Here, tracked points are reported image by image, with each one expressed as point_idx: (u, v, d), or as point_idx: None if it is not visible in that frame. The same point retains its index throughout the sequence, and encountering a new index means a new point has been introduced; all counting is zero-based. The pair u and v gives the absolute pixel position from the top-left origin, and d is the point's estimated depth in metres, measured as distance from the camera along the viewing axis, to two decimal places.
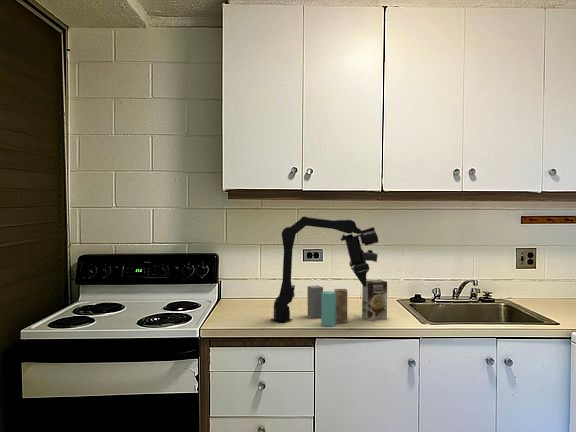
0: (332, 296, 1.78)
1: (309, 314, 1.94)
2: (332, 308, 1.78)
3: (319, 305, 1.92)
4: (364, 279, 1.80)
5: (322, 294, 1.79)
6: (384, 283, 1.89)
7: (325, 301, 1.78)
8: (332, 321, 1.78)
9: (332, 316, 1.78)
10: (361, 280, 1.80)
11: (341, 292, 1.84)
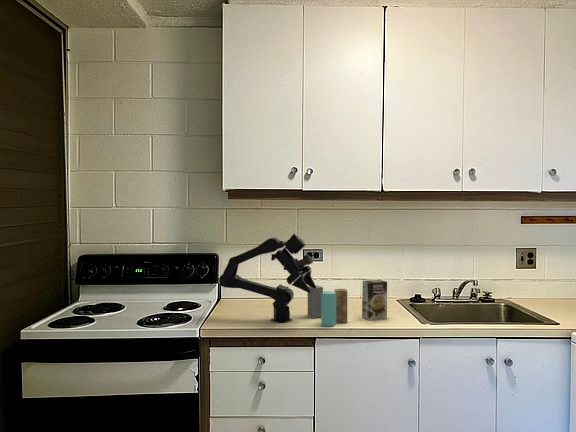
0: (332, 296, 1.78)
1: (309, 314, 1.94)
2: (332, 308, 1.78)
3: (319, 305, 1.92)
4: (304, 286, 1.78)
5: (322, 294, 1.79)
6: (384, 283, 1.89)
7: (325, 301, 1.78)
8: (332, 321, 1.78)
9: (332, 316, 1.78)
10: (302, 288, 1.78)
11: (341, 292, 1.84)
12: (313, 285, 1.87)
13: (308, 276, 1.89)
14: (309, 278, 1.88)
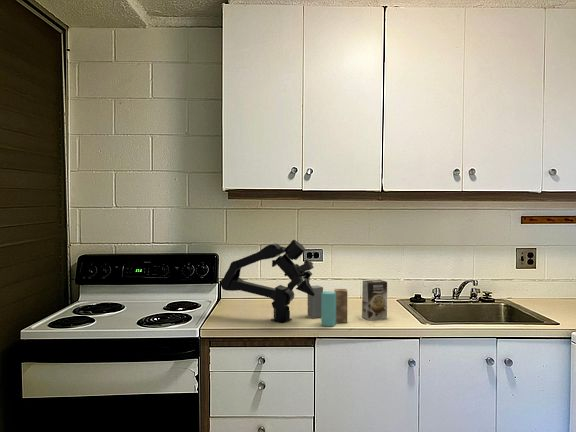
0: (332, 296, 1.78)
1: (309, 314, 1.94)
2: (332, 308, 1.78)
3: (319, 305, 1.92)
4: (308, 289, 1.82)
5: (322, 294, 1.79)
6: (384, 283, 1.89)
7: (325, 301, 1.78)
8: (332, 321, 1.78)
9: (332, 316, 1.78)
10: (306, 291, 1.82)
11: (341, 292, 1.84)
12: None
13: None
14: None
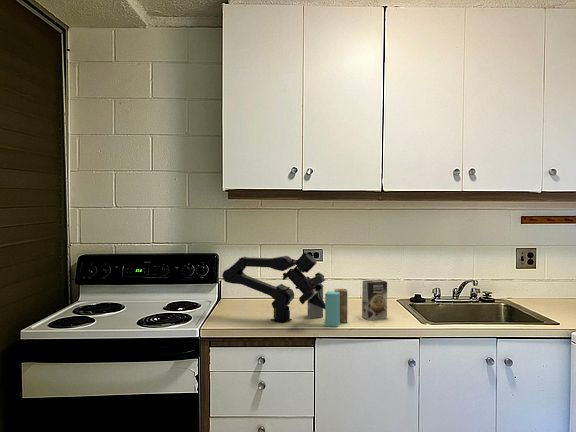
0: (336, 296, 1.77)
1: (309, 314, 1.94)
2: (336, 308, 1.77)
3: None
4: (320, 302, 1.80)
5: (326, 294, 1.78)
6: (384, 283, 1.89)
7: (329, 301, 1.78)
8: (336, 322, 1.77)
9: (336, 316, 1.77)
10: (318, 304, 1.81)
11: (341, 292, 1.84)
12: None
13: None
14: None
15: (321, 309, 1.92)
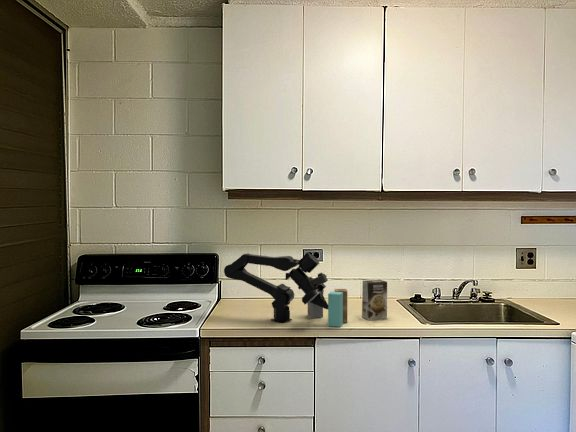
0: (339, 296, 1.77)
1: (309, 314, 1.94)
2: (339, 308, 1.77)
3: None
4: (322, 303, 1.80)
5: (329, 294, 1.78)
6: (384, 283, 1.89)
7: (332, 301, 1.78)
8: (339, 322, 1.77)
9: (339, 317, 1.77)
10: (320, 305, 1.80)
11: None
12: None
13: None
14: None
15: (321, 309, 1.92)
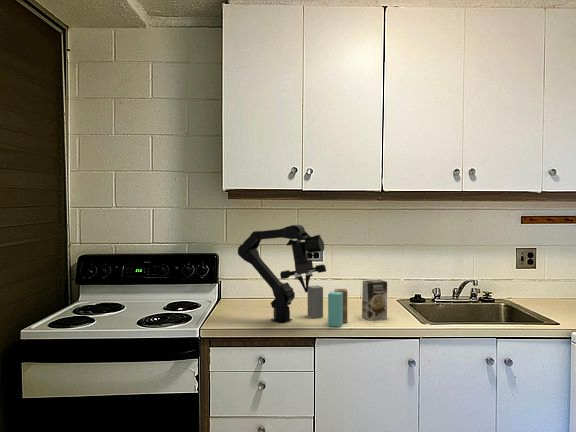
0: (339, 296, 1.77)
1: (309, 314, 1.94)
2: (339, 308, 1.77)
3: (319, 305, 1.92)
4: (302, 285, 1.82)
5: (329, 294, 1.78)
6: (384, 283, 1.89)
7: (332, 301, 1.78)
8: (339, 322, 1.77)
9: (339, 317, 1.77)
10: None
11: None
12: None
13: None
14: None
15: (321, 309, 1.92)
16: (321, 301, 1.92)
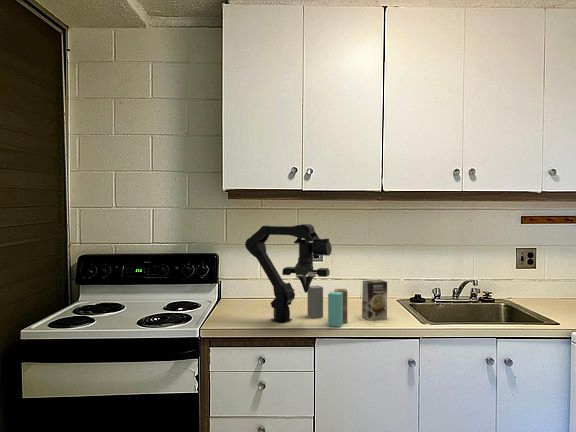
0: (339, 296, 1.77)
1: (309, 314, 1.94)
2: (339, 308, 1.77)
3: (319, 305, 1.92)
4: None
5: (329, 294, 1.78)
6: (384, 283, 1.89)
7: (332, 301, 1.78)
8: (339, 322, 1.77)
9: (339, 317, 1.77)
10: None
11: None
12: None
13: None
14: None
15: (321, 309, 1.92)
16: (321, 301, 1.92)
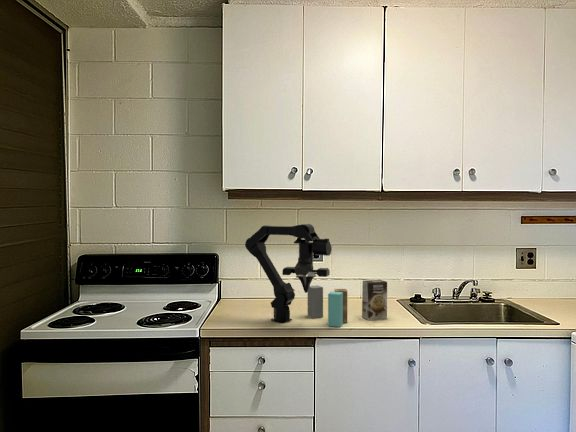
0: (339, 296, 1.77)
1: (309, 314, 1.94)
2: (339, 308, 1.77)
3: (319, 305, 1.92)
4: None
5: (329, 294, 1.78)
6: (384, 283, 1.89)
7: (332, 301, 1.78)
8: (339, 322, 1.77)
9: (339, 317, 1.77)
10: None
11: None
12: None
13: None
14: None
15: (321, 309, 1.92)
16: (321, 301, 1.92)
